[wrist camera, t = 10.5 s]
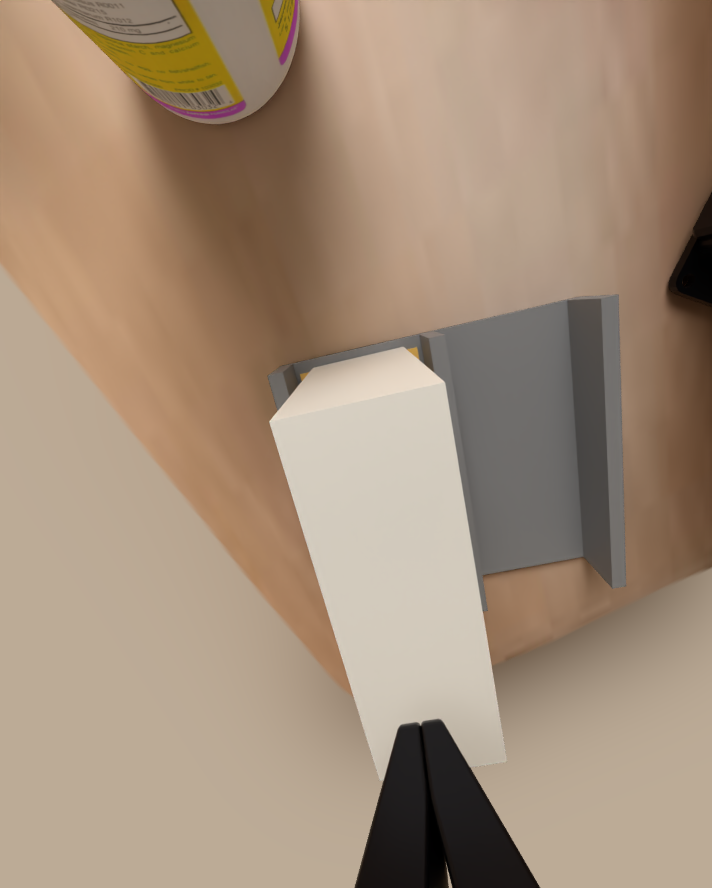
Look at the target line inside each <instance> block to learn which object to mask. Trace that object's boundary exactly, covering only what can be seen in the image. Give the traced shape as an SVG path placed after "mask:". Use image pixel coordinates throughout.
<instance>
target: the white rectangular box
mask: <svg viewBox="0 0 712 888" xmlns="http://www.w3.org/2000/svg"><path fill="white" fill-rule="evenodd" d="M269 423H270V426H271V429H272V432H273V436H274V439H275V442H276V445H277V449H278V452H279V455H280V458H281V462H282V465H283V468H284V471H285V475H286V478H287V481H288V484H289V488H290V491H291V494H292V497H293V501H294V504H295V507H296V510H297V514H298V517H299V520H300V523H301V527H302V530H303V533H304V536H305V540H306V543H307V546H308V549H309V553H310V556H311V559H312V562H313V566H314V569H315V572H316V575H317V579H318V582H319V585H320V588H321V592H322V595H323V598H324V601H325V605H326V608H327V611H328V614H329V618H330V621H331V624H332V627H333V631H334V634H335V637H336V640H337V644H338V647H339V650H340V653H341V657H342V660H343V663H344V666H345V670H346V673H347V676H348V680H349V683H350V686H351V689H352V693H353V696H354V699H355V702H356V705H357V708H358V712H359V715H360V718H361V722H362V725H363V728H364V731H365V735H366V738H367V741H368V745H369V748H370V751H371V754H372V758H373V761H374V764H375V767H376V771H377V774H378V777H379V780H380V781H383V780H384V777H385V774H386V770H387V766H388V762H389V759H390V755H391V751H392V748H393V744H394V740H395V737H396V733H397V730H398V727H399V726H400V725H401V724H406V723H413V722H418V723H419V724H420V725H421V723H422V722H423V721H426V720H432V719H441V720H442V721H443V722H444V724H445V725H446V727H447V729H448V731H449V732H450V734H451V736H452V737H453V739H454V741H455V743H456V744H457V746H458V748H459V749H460V751H461V753H462V755H463V756H464V758H465V760H466V761H467V763H468V765H469V767H470V768H471V767H477V766H484V765H491V764H497V763H504V762H507V758H506V751H505V745H504V739H503V733H502V727H501V721H500V715H499V710H498V703H497V696H496V690H495V684H494V678H493V672H492V666H491V660H490V654H489V648H488V641H487V635H486V629H485V623H484V617H483V611H482V605H481V599H480V593H479V586H478V580H477V574H476V568H475V562H474V556H473V550H472V544H471V538H470V531H469V525H468V519H467V513H466V507H465V501H464V495H463V489H462V483H461V476H460V470H459V464H458V458H457V452H456V446H455V440H454V434H453V428H452V421H451V415H450V409H449V403H448V397H447V391H446V385H445V382H444V381H443V380H442V379H441V378H440V377H438V376H437V375H436V374H435V373H434V372H433V371H431V370H430V369H429V368H428V367H427V366H426V365H424V364H423V363H422V362H421V361H420V360H419V359H417V358H416V357H415V356H414V355H413V354H412V353H410V352H409V351H408V350H407V349H406V348H404V347H400V348H395V349H391V350H387V351H382V352H378V353H374V354H370V355H365V356H361V357H357V358H353V359H348V360H344V361H340V362H335V363H331V364H327V365H323V366H318V367H314V368H312V370H311V371H310V372H309V373H308V375H307V376H306V377H305V378H304V380H303V381H302V382H301V383H300V384H299V386H298V387H297V388H296V389H295V391H294V392H293V393H292V394H291V396H290V397H289V398H288V399H287V400H286V402H285V403H284V404H283V405H282V407H281V408H280V409H279V410H278V412H277V413H276V414H275V415H274V416H273V418H272V419H271V420H270V421H269Z"/></svg>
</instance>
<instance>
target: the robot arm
mask: <svg viewBox="0 0 712 888" xmlns="http://www.w3.org/2000/svg"><path fill="white" fill-rule="evenodd" d="M685 275H686V276H687V278H688V281H687V284H686V285H685V286H683V284H682V280H683V278H684V277H685ZM669 288H670V290H671V292H673V293H674V294H677V295H680V296H683V297H686V298H688V299H691V300H694V301H697V302H700V303H703V304H705V305H708V306H711V307H712V193H711V195H710V197H709V198H708V200H707V202H706V204H705V206H704V208H703V210H702V212H701V214H700V216H699V218H698V220H697V222H696V224H695V226H694V228H693V234H692V236H691V238H690V240H689V242H688V244H687V246H686V248H685V250H684V252H683V254H682V256H681V258H680V260H679V262H678V264H677V265H676V267H675V269H674V271H673V273H672V275H671V277H670V280H669ZM446 864H447V867H446ZM447 868H448V872H449V876H450V879H451V884H452V888H540V887H539V885H538V883H537V881H536V880H535V878H534V876H533V875H532V873H531V872H530V870H529V868H528V866H527V864H526V863H525V861H524V859H523V857H522V856H521V854H520V852H519V851H518V849H517V847H516V845H515V844H514V842H513V841H512V839H511V837H510V835H509V833H508V832H507V830H506V828H505V827H504V825H503V823H502V822H501V820H500V818H499V816H498V815H497V813H496V811H495V809H494V808H493V806H492V805H491V803H490V801H489V799H488V798H487V796H486V794H485V792H484V791H483V789H482V787H481V785H480V784H479V782H478V780H477V779H476V777H475V775H474V774H473V772H472V770H471V768H470V767H469V765H468V763H467V761H466V760H465V758H464V756H463V755H462V753H461V751H460V749H459V748H458V746H457V744H456V743H455V741H454V739H453V737H452V736H451V734H450V732H449V731H448V729H447V727H446V725H445V724H444V722H443V721H442V720H441V719H432V720H426V721H423V722H422V723H421V725H420V724H419V723H418V722H413V723H406V724H401V725H400V726H399V727H398V730H397V733H396V737H395V740H394V744H393V748H392V751H391V755H390V759H389V762H388V766H387V770H386V774H385V777H384V781H383V785H382V789H381V792H380V796H379V799H378V803H377V807H376V811H375V814H374V818H373V821H372V826H371V829H370V833H369V837H368V840H367V844H366V847H365V851H364V855H363V858H362V862H361V866H360V869H359V873H358V877H357V881H356V884H355V888H449V886H448V876H447Z"/></svg>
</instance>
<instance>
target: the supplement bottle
mask: <svg viewBox="0 0 712 888" xmlns="http://www.w3.org/2000/svg"><path fill="white" fill-rule="evenodd" d="M52 1H53V2H54V3H55V4H56V5H57V6H58V7H59V8H60V9H61V10H62V11H63V12H64V13H65V14H66V15H67V16H68V17H69V18H70V19H71V20H72V21H73V22H74V23H75V24H76V25H77V26H78V27H79V28H80V29H81V30H82V31H83V32H84V33H85V34H86V35H87V36H88V37H89V38H90V39H91V40H92V41H93V42H94V43H95V44H96V45H97V46H98V47H99V48H100V49H101V50H102V51H103V52H104V53H105V54H106V55H107V56H108V57H109V58H110V59H111V60H112V61H113V62H114V63H115V64H116V65H117V66H118V67H119V68H120V69H121V70H122V71H123V72H124V73H125V74H126V75H127V76H128V77H129V78H130V79H132V80H133V81H134V82H135V83H136V84H137V85H138V86H139V87H140V88H141V89H142V90H143V91H144V92H145V93H146V94H148V95H149V96H150V97H151V98H152V99H154V100H155V101H156V102H158V103H159V104H160V105H162V106H163V107H164V108H166V109H168V110H169V111H171V112H173V113H174V114H176V115H178V116H181V117H183V118H185V119H188V120H191V121H195V122H199V123H206V124H224V123H230V122H234V121H237V120H240V119H242V118H245V117H247V116H249V115H251V114H252V113H254V112H255V111H257V110H258V109H260V108H261V107H262V106H263V105H264V104H265V103H266V102H267V101H268V100H269V99H270V98H271V97H272V96H273V95H274V94H275V92H276V91H277V89H278V88H279V87H280V85H281V84H282V82H283V80H284V78H285V76H286V74H287V72H288V70H289V68H290V65H291V62H292V59H293V56H294V53H295V49H296V45H297V39H298V32H299V23H300V2H299V0H52Z"/></svg>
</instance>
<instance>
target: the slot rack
mask: <svg viewBox="0 0 712 888" xmlns="http://www.w3.org/2000/svg"><path fill="white" fill-rule="evenodd" d="M400 347H404V348H406V349H407V350H408V351H409V352H410V353H412V354H413V355H414V356H415V357H416V358H417V359H419V360H420V361H421V362H422V363H423V364H424V365H426V366H427V367H428V368H429V369H430V370H431V371H433V372H434V373H435V374H436V375H437V376H438V377H440V378H441V379H442V380H443V381H444V382H445V385H446V391H447V397H448V403H449V409H450V415H451V421H452V428H453V434H454V440H455V446H456V452H457V458H458V464H459V470H460V476H461V483H462V489H463V495H464V501H465V507H466V513H467V519H468V525H469V531H470V538H471V544H472V550H473V556H474V562H475V568H476V574H477V580H478V586H479V593H480V599H481V605H482V611H488V609H487V602H486V596H485V589H484V583H483V576H482V575H486V574H491V573H497V572H502V571H508V570H513V569H519V568H524V567H530V566H535V565H540V564H546V563H551V562H557V561H562V560H568V559H573V558H579V557H584V558H585V559H586V560H587V561H588V562H589V563H590V564H591V565H592V567H593V568H594V569H595V570H596V571H597V572H598V573H599V574H600V575H601V577H602V578H603V579H604V580H605V581H606V582H607V583H608V584H609V585H610V586H611V588H612V589H613V588H619V587H625V586H626V561H625V523H624V485H623V447H622V409H621V371H620V333H619V295H602V296H585V297H576V298H571V299H567V300H563V301H558V302H554V303H550V304H546V305H541V306H537V307H533V308H528V309H524V310H520V311H515V312H511V313H507V314H503V315H498V316H494V317H490V318H485V319H481V320H477V321H473V322H468V323H464V324H460V325H455V326H451V327H447V328H442V329H438V330H434V331H430V332H425V333H421V334H417V335H412V336H408V337H404V338H399V339H395V340H391V341H387V342H382V343H378V344H374V345H369V346H365V347H361V348H357V349H352V350H348V351H344V352H339V353H335V354H331V355H326V356H322V357H318V358H314V359H309V360H305V361H301V362H296V363H292V364H288V365H284V366H280V367H279V368H278V369H276V370H275V371H273V372H272V373H271V374H269V375H268V380H269V383H270V387H271V390H272V393H273V397H274V400H275V404H276V407H277V410H279V409H280V408H281V407H282V405H283V404H284V403H285V402H286V400H287V399H288V398H289V397H290V396H291V394H292V393H293V392H294V391H295V389H296V388H297V387H298V386H299V384H300V383H301V382H302V381H303V380H304V378H305V377H306V376H307V375H308V373H309V372H310V371H311V370H312V368H314V367H318V366H323V365H327V364H331V363H335V362H340V361H344V360H348V359H353V358H357V357H361V356H365V355H370V354H374V353H378V352H382V351H387V350H391V349H395V348H400Z"/></svg>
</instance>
